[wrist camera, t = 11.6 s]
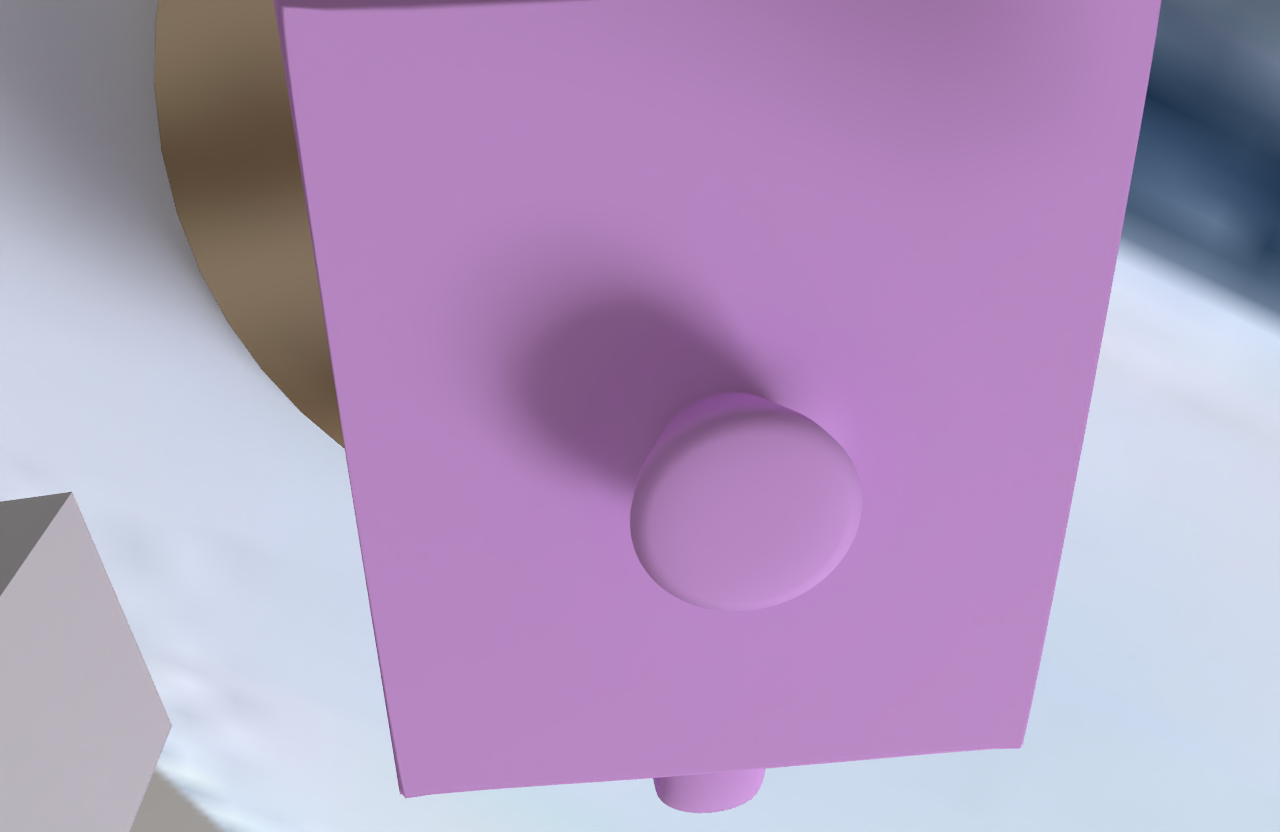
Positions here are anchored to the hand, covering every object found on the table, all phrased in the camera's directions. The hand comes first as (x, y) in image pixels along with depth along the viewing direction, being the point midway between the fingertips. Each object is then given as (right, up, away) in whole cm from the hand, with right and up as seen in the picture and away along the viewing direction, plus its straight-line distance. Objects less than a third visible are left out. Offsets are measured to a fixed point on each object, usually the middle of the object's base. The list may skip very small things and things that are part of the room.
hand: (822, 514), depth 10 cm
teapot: (-2, +7, +14) cm, 15 cm away
